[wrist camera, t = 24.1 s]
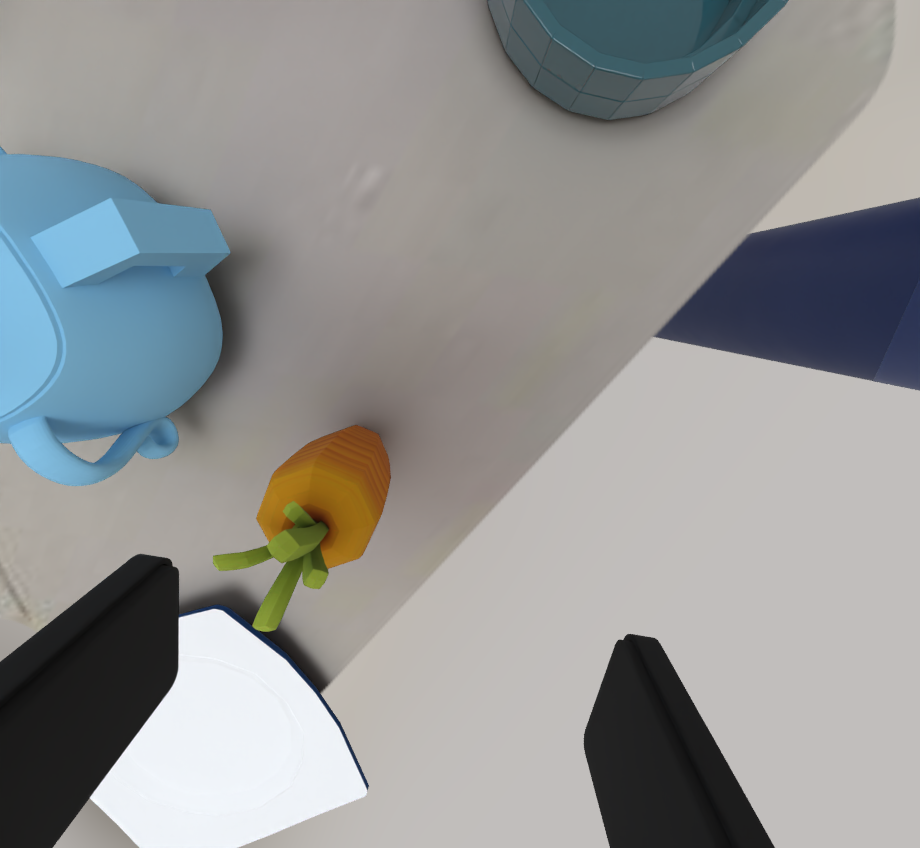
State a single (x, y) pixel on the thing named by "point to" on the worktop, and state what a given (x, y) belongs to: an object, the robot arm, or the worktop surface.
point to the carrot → (317, 514)
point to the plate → (230, 746)
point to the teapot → (99, 314)
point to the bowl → (624, 47)
